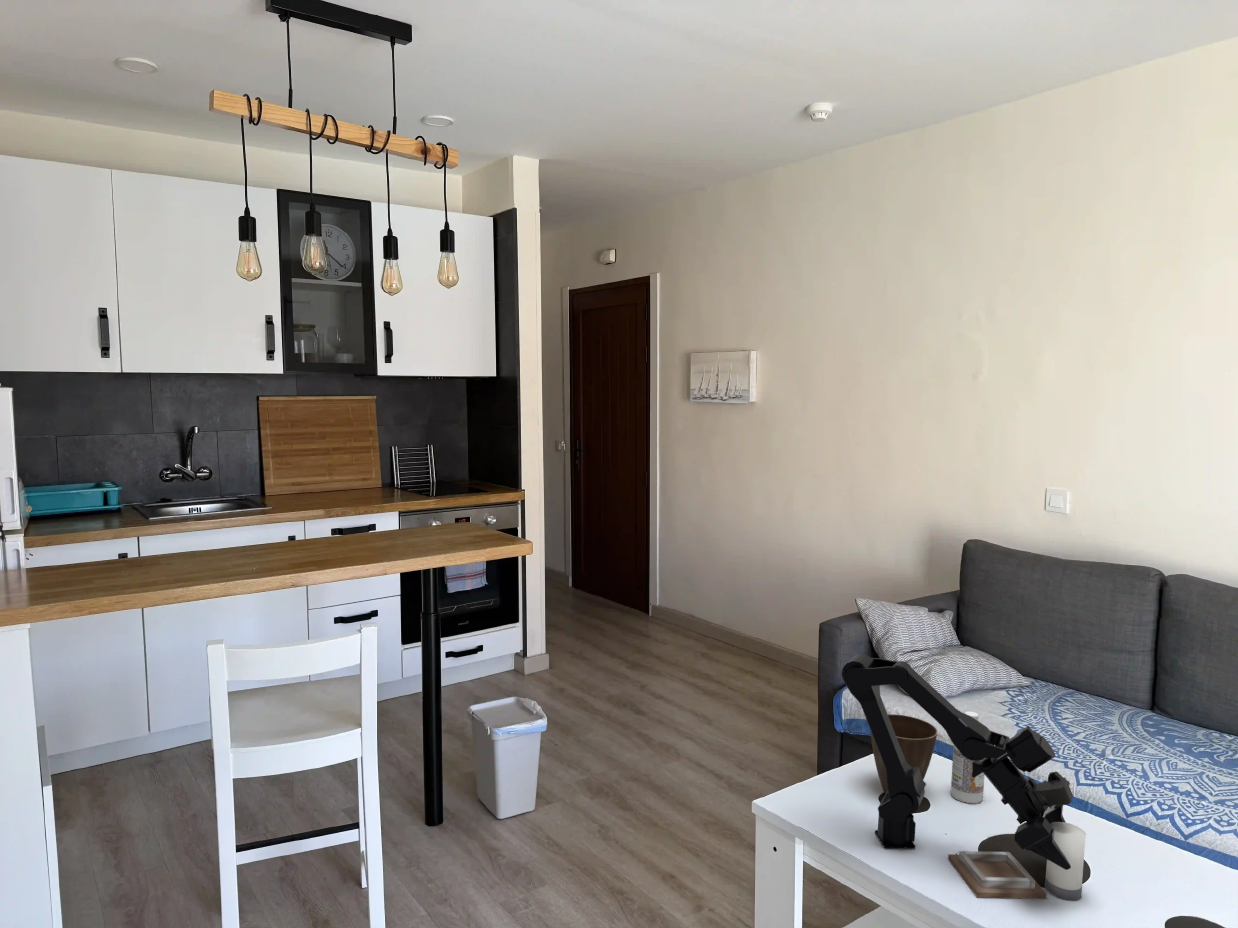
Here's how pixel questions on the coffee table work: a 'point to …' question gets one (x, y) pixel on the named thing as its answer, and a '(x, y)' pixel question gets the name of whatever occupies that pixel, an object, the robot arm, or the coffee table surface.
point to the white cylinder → (1072, 847)
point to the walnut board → (995, 875)
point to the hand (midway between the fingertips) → (1072, 857)
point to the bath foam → (966, 776)
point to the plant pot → (909, 744)
